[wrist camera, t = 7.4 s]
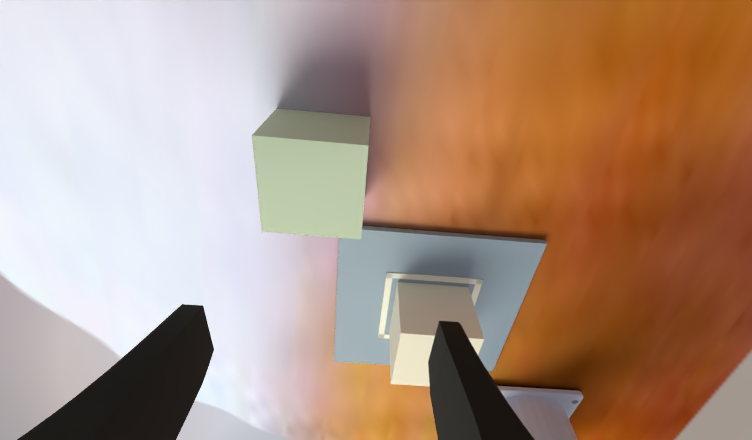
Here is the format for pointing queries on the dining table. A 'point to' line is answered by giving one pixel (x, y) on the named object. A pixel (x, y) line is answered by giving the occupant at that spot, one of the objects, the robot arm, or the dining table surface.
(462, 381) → the robot arm
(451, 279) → the plate
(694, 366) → the dining table surface
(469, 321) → the cream block
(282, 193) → the sage block
